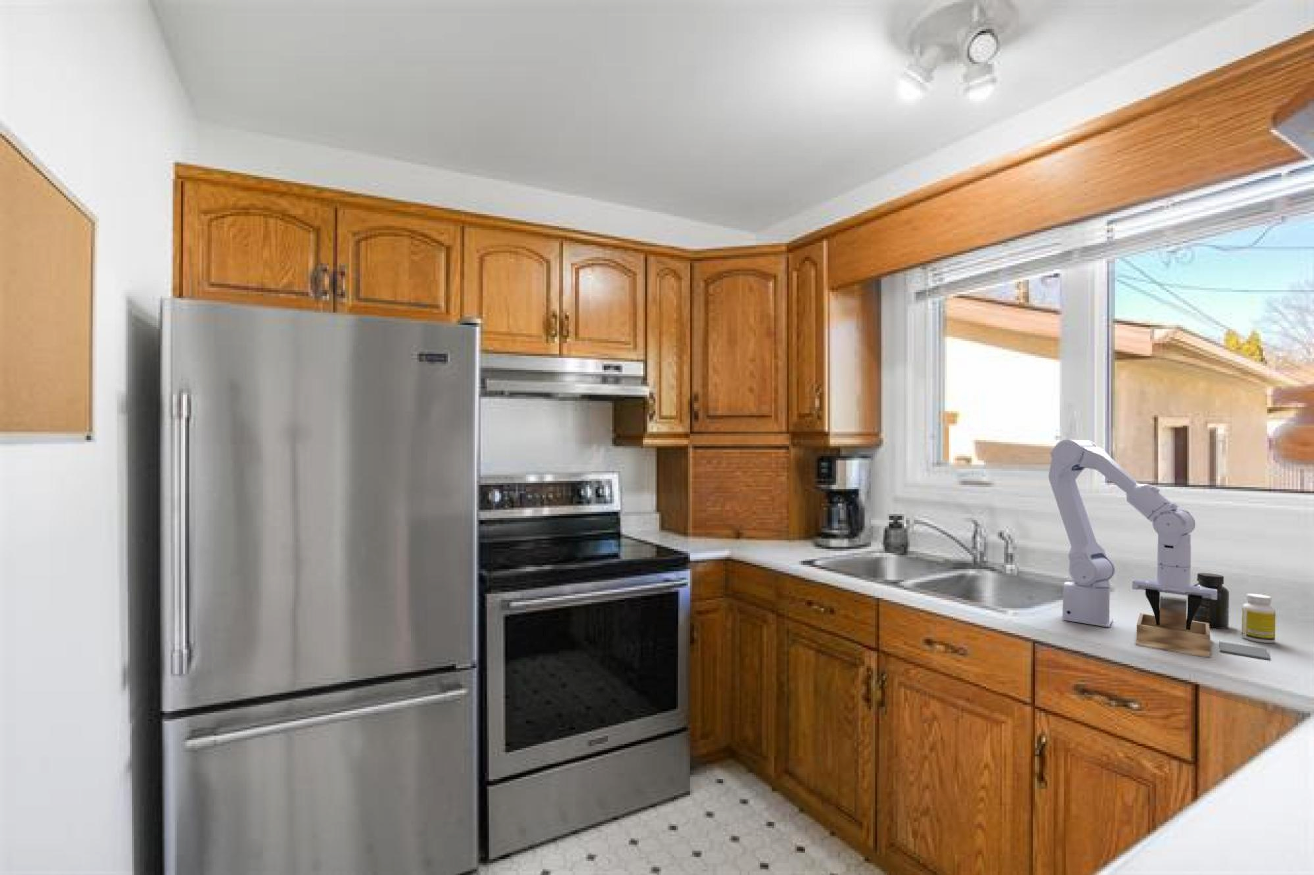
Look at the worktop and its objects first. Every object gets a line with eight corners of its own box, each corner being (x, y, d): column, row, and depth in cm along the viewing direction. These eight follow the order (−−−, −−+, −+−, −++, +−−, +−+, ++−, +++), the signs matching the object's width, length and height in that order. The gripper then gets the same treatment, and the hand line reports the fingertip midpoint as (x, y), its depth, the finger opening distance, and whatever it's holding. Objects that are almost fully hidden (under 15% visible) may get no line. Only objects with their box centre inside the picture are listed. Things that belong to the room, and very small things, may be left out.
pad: (1220, 651, 134) (1220, 649, 134) (1219, 643, 140) (1219, 641, 140) (1269, 660, 129) (1269, 658, 129) (1266, 650, 135) (1266, 648, 135)
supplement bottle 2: (1281, 644, 139) (1282, 599, 139) (1252, 642, 140) (1253, 597, 140) (1263, 636, 145) (1264, 593, 145) (1235, 635, 146) (1236, 591, 146)
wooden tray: (1135, 644, 138) (1135, 628, 138) (1141, 624, 153) (1141, 609, 153) (1210, 657, 130) (1210, 640, 130) (1208, 634, 146) (1208, 619, 146)
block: (1159, 640, 141) (1160, 599, 141) (1160, 635, 145) (1160, 595, 145) (1186, 644, 139) (1186, 602, 139) (1186, 639, 142) (1186, 598, 142)
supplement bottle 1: (1236, 629, 150) (1237, 578, 150) (1203, 628, 151) (1204, 577, 151) (1215, 621, 157) (1216, 572, 157) (1184, 619, 158) (1185, 571, 158)
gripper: (1131, 563, 143) (1130, 624, 143) (1217, 572, 134) (1217, 637, 134) (1133, 558, 149) (1133, 617, 149) (1216, 567, 139) (1216, 629, 139)
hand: (1173, 626), depth 142 cm, fingers closed on block, 4 cm apart
